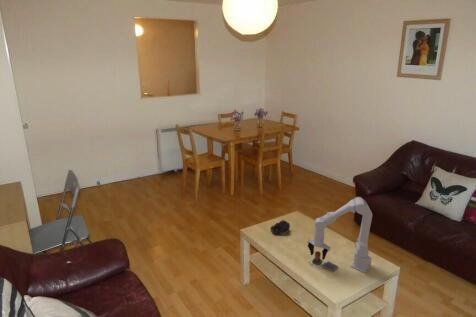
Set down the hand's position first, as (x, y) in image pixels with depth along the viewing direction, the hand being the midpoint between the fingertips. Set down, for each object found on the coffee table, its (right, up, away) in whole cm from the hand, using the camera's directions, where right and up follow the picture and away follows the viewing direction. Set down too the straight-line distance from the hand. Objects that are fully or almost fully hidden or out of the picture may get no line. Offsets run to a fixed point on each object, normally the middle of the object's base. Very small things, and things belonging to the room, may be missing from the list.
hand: (317, 256), depth 208 cm
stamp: (0, -4, +1) cm, 4 cm away
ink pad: (+7, -6, -3) cm, 9 cm away
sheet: (0, -4, +1) cm, 5 cm away
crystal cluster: (-18, +7, +37) cm, 42 cm away
